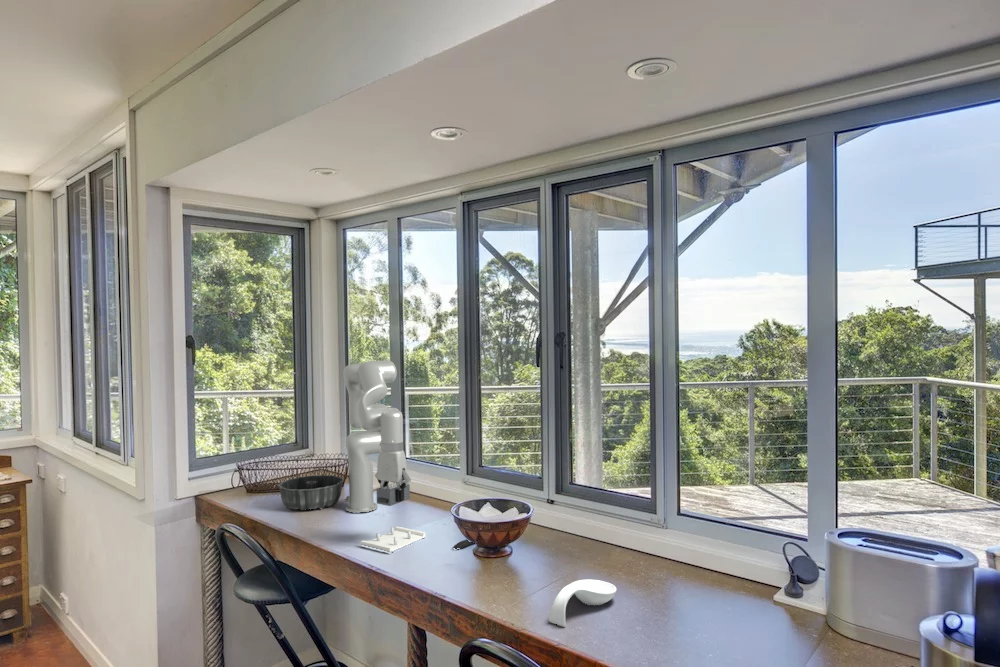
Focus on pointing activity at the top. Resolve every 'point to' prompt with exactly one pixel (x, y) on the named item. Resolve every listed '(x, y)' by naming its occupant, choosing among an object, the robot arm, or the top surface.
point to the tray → (394, 539)
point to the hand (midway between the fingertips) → (393, 499)
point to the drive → (391, 494)
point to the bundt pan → (311, 491)
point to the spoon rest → (581, 597)
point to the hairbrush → (462, 544)
